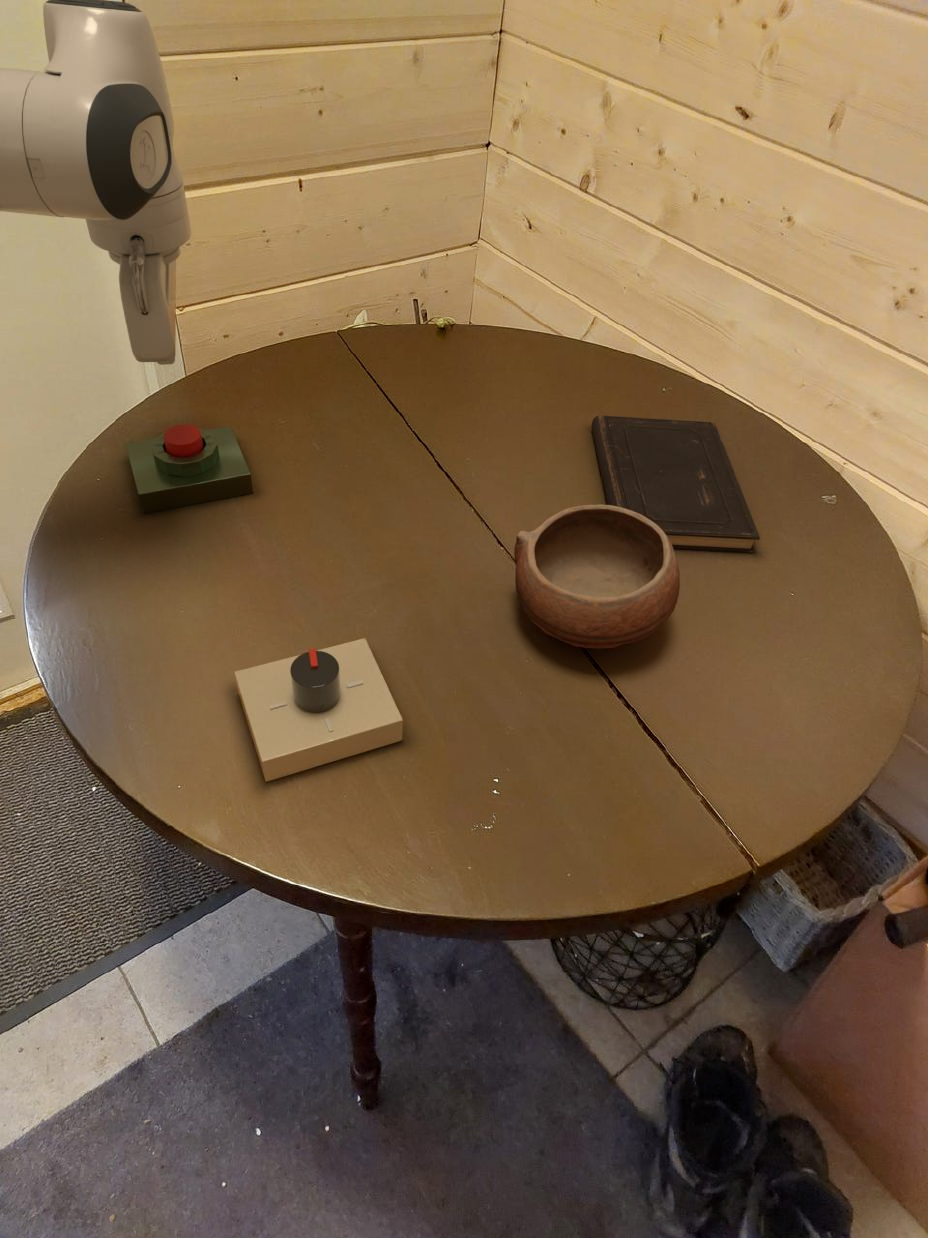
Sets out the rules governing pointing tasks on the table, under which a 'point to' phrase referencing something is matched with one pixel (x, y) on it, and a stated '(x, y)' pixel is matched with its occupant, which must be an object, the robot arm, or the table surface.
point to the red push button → (183, 440)
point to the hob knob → (315, 681)
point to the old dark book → (675, 480)
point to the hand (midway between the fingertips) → (166, 357)
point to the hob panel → (324, 737)
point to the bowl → (597, 576)
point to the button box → (189, 471)
